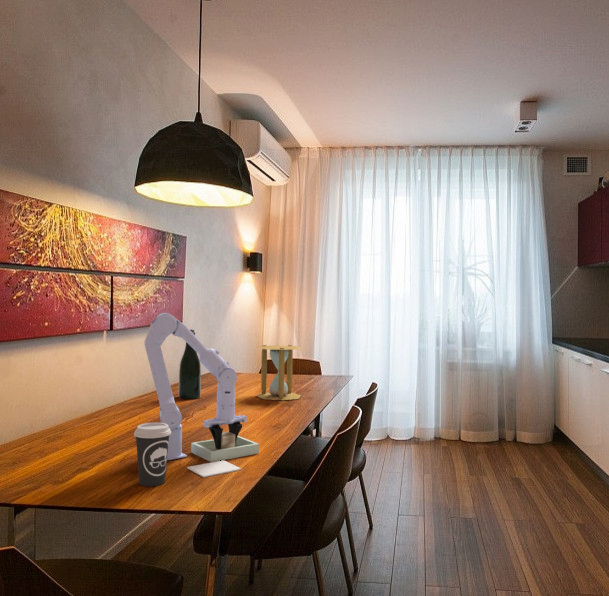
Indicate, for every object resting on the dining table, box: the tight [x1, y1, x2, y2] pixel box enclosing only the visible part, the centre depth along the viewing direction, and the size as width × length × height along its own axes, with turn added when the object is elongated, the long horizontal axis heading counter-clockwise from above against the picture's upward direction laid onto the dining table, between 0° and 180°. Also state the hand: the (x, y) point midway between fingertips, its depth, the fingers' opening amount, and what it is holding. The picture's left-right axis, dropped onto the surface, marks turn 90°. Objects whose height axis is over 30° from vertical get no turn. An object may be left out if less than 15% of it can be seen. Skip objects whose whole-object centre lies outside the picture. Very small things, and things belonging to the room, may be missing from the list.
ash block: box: [214, 431, 236, 451], centre depth 180 cm, size 4×4×6 cm
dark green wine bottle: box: [178, 329, 202, 400], centre depth 275 cm, size 10×10×33 cm
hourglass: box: [256, 344, 303, 401], centre depth 281 cm, size 24×22×25 cm
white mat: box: [186, 460, 242, 478], centre depth 163 cm, size 12×10×1 cm
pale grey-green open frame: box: [190, 435, 260, 463], centre depth 180 cm, size 17×13×3 cm
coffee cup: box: [133, 422, 171, 487], centre depth 150 cm, size 10×10×15 cm
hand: (225, 447), depth 180 cm, fingers closed on ash block, 4 cm apart
